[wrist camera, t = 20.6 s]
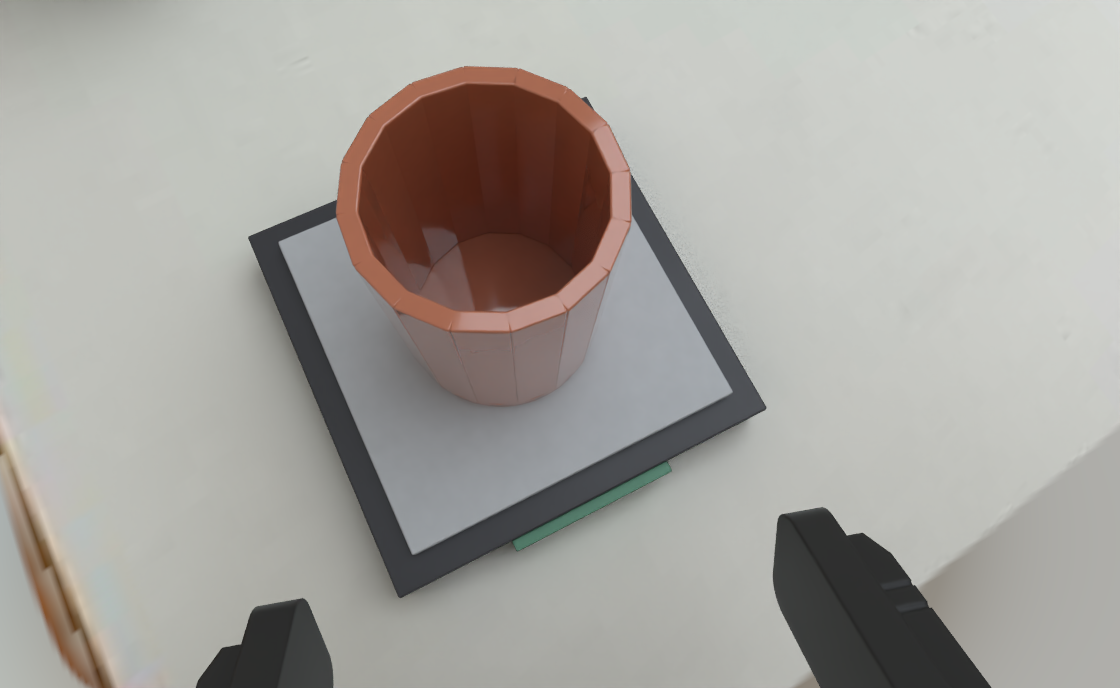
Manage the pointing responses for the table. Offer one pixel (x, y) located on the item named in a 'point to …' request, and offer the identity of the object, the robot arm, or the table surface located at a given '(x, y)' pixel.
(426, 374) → the scale
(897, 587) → the robot arm
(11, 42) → the table surface
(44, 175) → the table surface
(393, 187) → the cup
